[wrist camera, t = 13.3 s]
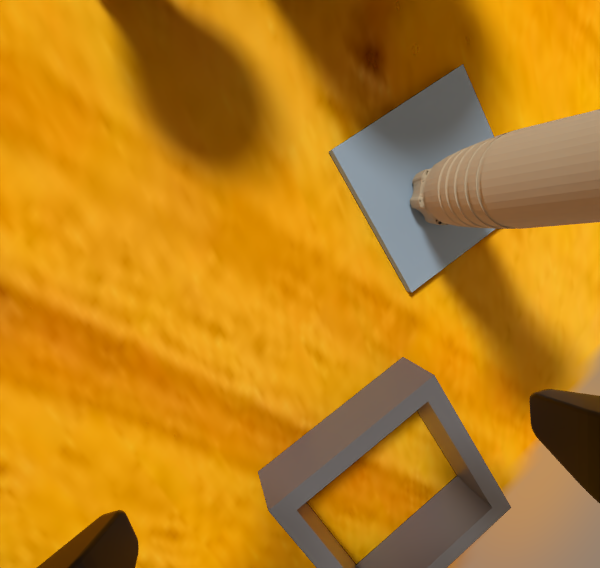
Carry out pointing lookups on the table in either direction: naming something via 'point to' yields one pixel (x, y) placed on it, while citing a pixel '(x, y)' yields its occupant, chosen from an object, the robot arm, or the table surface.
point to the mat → (405, 165)
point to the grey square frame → (361, 438)
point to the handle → (518, 179)
